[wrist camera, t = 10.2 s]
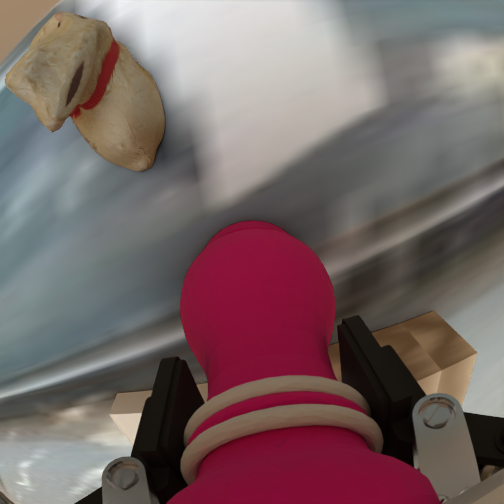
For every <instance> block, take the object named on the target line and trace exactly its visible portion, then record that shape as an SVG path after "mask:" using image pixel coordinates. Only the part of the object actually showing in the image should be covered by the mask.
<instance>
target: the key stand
mask: <svg viewBox="0 0 504 504" xmlns="http://www.w3.org/2000/svg"><path fill="white" fill-rule="evenodd" d="M372 335H373V336H374V337H375V339H376V340H377V342H378V343H379V345H380V346H381V347H383V346H386V345H391V346H392V347H393V349H394V350H395V351H396V353H397V354H398V356H399V357H400V358H401V360H402V361H403V362H404V364H405V365H406V367H407V368H408V369H409V371H410V372H411V374H412V375H413V377H414V378H415V379H416V381H417V382H418V384H419V385H420V387H421V388H422V389H423V391H424V392H425V394H426V395H430V394H433V393H444V394H448V395H450V396H453V397H454V398H455V399H456V400H458V401H459V403H460V405H461V406H462V403H463V400H464V397H465V394H466V391H467V388H468V385H469V381H470V378H471V375H472V371H473V367H474V364H475V360H476V356H477V352H476V351H475V350H474V349H473V348H472V347H471V346H470V345H469V344H468V343H467V342H466V341H465V340H464V339H463V338H462V337H461V336H460V335H459V334H458V333H457V332H456V331H455V330H454V329H453V328H452V327H451V326H450V325H449V324H448V323H446V322H445V321H444V320H443V319H442V318H441V317H440V316H439V315H438V314H437V313H436V312H435V311H432V312H430V313H427V314H424V315H422V316H419V317H416V318H413V319H411V320H408V321H405V322H402V323H399V324H396V325H394V326H391V327H388V328H385V329H382V330H379V331H376V332H372ZM328 355H329V358H330V361H331V364H332V368H333V371H334V374H335V376H336V378H337V380H338V381H339V382H342V378H341V364H340V352H339V343H336V344H332V345H329V347H328Z"/></svg>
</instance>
